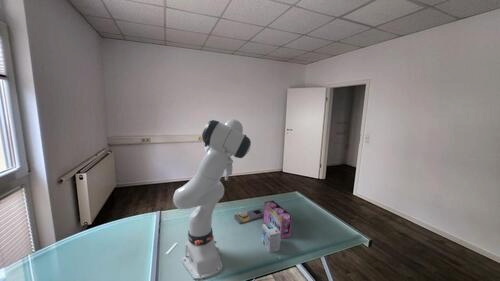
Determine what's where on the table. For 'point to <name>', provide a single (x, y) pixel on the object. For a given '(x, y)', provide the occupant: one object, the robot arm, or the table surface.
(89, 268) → the table surface
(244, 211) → the nut
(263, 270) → the table surface
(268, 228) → the light bulb box
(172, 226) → the table surface
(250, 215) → the rail
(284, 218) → the pink product box
